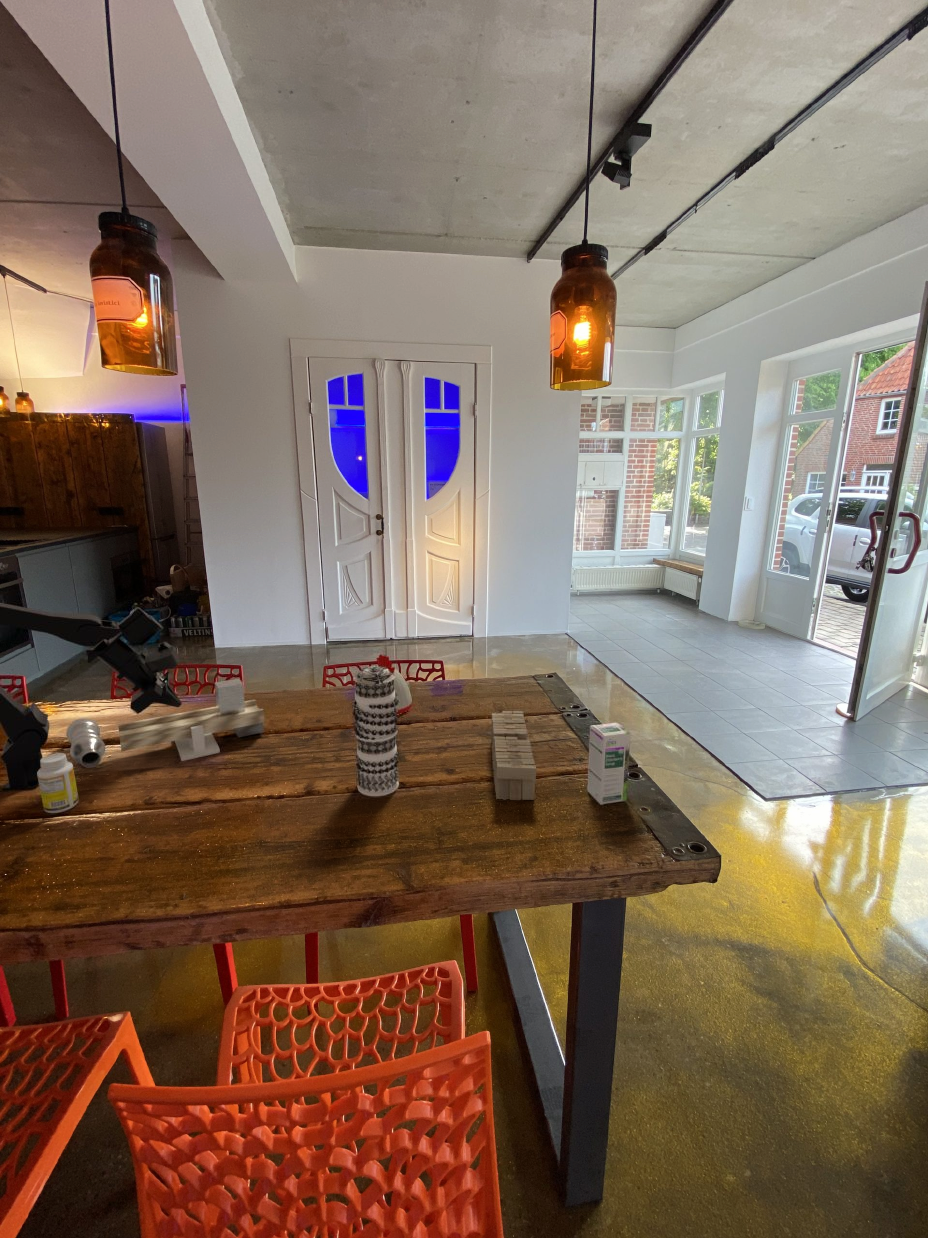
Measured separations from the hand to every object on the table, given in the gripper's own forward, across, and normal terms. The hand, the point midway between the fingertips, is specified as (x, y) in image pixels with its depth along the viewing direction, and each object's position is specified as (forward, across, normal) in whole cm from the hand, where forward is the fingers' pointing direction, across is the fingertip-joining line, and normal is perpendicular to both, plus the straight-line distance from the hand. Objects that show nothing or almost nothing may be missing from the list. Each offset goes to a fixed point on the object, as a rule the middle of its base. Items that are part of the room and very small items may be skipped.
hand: (180, 705), depth 131 cm
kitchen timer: (+40, +7, -33) cm, 52 cm away
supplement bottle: (-6, -22, +20) cm, 30 cm away
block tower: (+45, -36, -52) cm, 77 cm away
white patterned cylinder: (+28, -34, -28) cm, 52 cm away
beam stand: (+10, -1, +4) cm, 11 cm away
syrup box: (+50, -53, -64) cm, 97 cm away
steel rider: (+10, +2, -6) cm, 12 cm away
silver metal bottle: (-6, +11, +24) cm, 27 cm away
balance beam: (+9, -1, +4) cm, 10 cm away
